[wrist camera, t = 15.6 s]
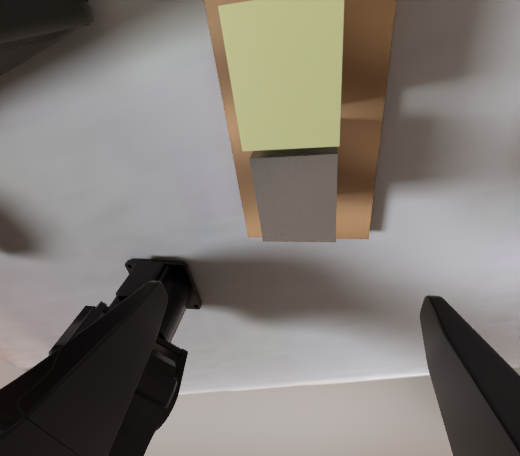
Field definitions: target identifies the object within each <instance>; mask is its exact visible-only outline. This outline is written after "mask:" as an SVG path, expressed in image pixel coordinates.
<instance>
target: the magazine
mask: <svg viewBox="0 0 520 456" xmlns="http://www.w3.org/2000/svg"><path fill="white" fill-rule="evenodd" d="M87 1H88V0H0V75H2V74H3V73H5V72H7V71H8V70H10V69H12V68H13V67H15V66H17V65H18V64H20V63H22V62H23V61H25V60H26V59H28V58H30V57H31V56H33V55H34V54H36V53H38V52H39V51H41V50H42V49H44V48H46V47H47V46H49V45H51V44H52V43H54V42H55V41H57V40H59V39H60V38H62V37H63V36H65V35H67V34H68V33H70V32H71V31H73V30H75V29H76V28H78V27H80V26H84V25H89V24H90V23H91V22H93V20H94V15H93V13H92V11H91V10H90V8H89V6H88V4H87Z"/></svg>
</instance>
